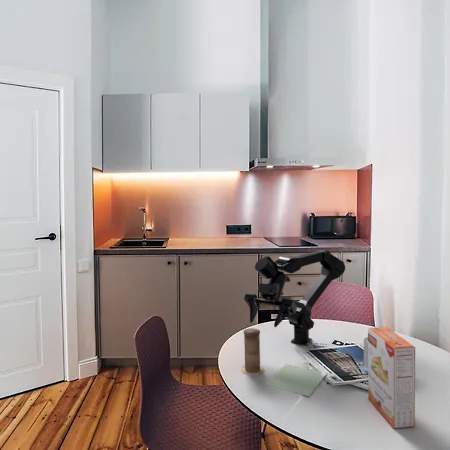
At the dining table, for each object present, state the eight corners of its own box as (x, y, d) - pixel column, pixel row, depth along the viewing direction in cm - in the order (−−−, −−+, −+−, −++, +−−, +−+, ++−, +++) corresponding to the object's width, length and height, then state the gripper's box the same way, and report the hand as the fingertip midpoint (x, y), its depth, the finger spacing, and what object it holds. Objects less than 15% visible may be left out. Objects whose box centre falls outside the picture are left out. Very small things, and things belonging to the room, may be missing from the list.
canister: (249, 364, 133) (248, 327, 132) (263, 367, 130) (262, 330, 129) (241, 370, 128) (240, 332, 127) (256, 374, 125) (255, 335, 124)
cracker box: (366, 399, 109) (366, 327, 108) (387, 398, 110) (387, 325, 108) (392, 429, 96) (392, 347, 94) (415, 428, 96) (416, 345, 94)
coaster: (247, 363, 134) (247, 362, 134) (268, 368, 130) (268, 367, 130) (236, 372, 128) (236, 371, 128) (257, 378, 124) (257, 377, 123)
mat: (286, 365, 132) (286, 363, 132) (326, 374, 125) (326, 373, 125) (265, 385, 119) (264, 384, 119) (309, 397, 111) (309, 396, 111)
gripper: (245, 271, 143) (230, 309, 134) (293, 276, 133) (280, 317, 124) (256, 287, 150) (242, 324, 142) (302, 293, 140) (290, 333, 132)
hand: (262, 324), depth 135 cm, fingers open, 9 cm apart
